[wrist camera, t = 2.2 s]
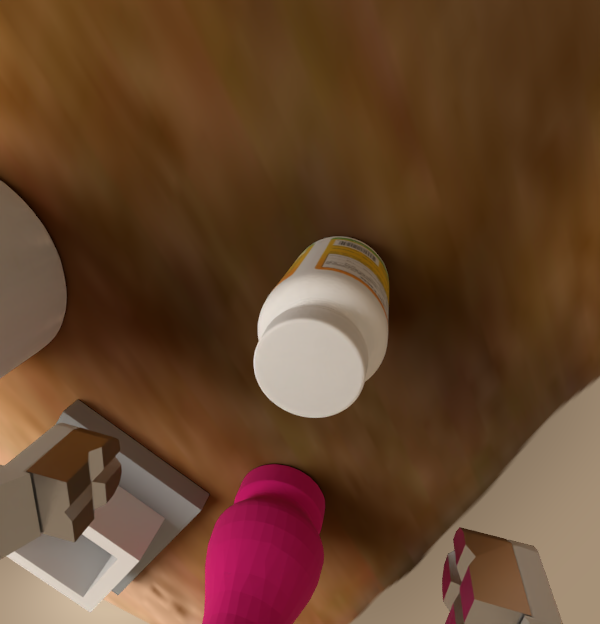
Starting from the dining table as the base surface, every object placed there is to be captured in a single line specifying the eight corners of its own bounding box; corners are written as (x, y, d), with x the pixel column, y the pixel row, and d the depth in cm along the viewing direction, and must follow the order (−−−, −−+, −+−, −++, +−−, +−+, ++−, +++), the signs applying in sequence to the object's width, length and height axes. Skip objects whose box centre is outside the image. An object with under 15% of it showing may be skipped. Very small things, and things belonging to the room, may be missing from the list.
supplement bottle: (308, 335, 25) (262, 443, 16) (280, 248, 23) (210, 318, 15) (399, 316, 23) (403, 426, 15) (376, 222, 22) (363, 282, 13)
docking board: (16, 502, 37) (-36, 553, 33) (77, 399, 31) (23, 444, 26) (127, 578, 38) (92, 638, 34) (209, 494, 32) (179, 553, 27)
